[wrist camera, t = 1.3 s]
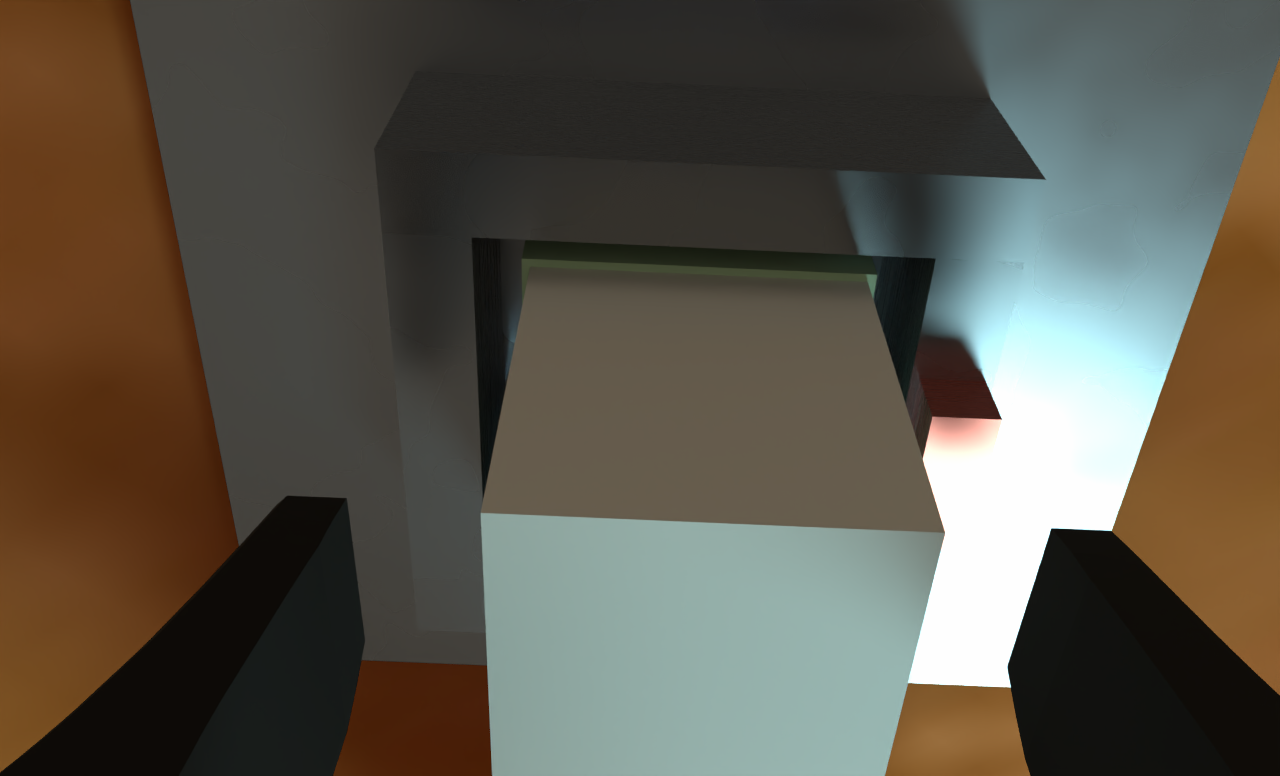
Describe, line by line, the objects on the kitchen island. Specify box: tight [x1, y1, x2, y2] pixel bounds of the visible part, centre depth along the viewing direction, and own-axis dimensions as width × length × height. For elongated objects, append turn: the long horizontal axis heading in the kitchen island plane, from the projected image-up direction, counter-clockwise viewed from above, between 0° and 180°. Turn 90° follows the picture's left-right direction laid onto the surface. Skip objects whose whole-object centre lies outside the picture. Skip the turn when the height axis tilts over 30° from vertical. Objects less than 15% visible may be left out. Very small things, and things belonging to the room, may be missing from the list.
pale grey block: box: [481, 240, 945, 776], centre depth 14 cm, size 4×4×6 cm
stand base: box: [130, 0, 1280, 687], centre depth 15 cm, size 14×14×4 cm
